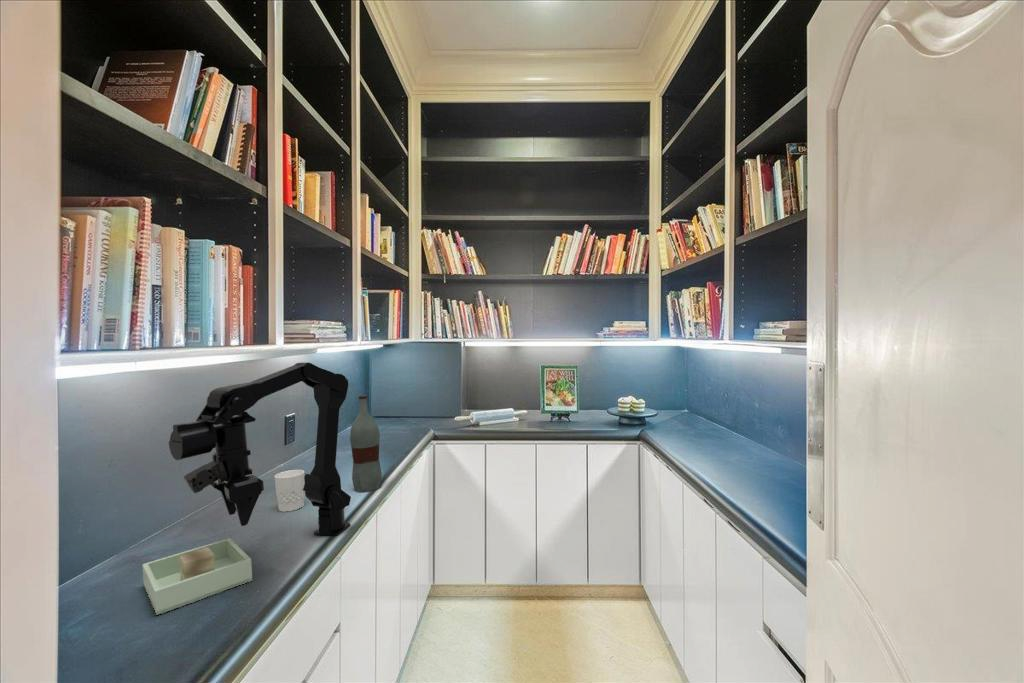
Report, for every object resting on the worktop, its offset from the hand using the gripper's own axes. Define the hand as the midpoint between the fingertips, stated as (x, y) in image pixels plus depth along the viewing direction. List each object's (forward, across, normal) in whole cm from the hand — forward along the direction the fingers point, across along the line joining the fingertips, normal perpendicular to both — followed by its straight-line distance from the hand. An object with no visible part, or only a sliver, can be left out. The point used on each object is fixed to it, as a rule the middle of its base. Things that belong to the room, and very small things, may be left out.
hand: (238, 519), depth 100 cm
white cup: (+12, -31, +21) cm, 39 cm away
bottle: (+12, -30, +44) cm, 54 cm away
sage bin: (+11, 0, -8) cm, 13 cm away
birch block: (+10, 0, -8) cm, 13 cm away
